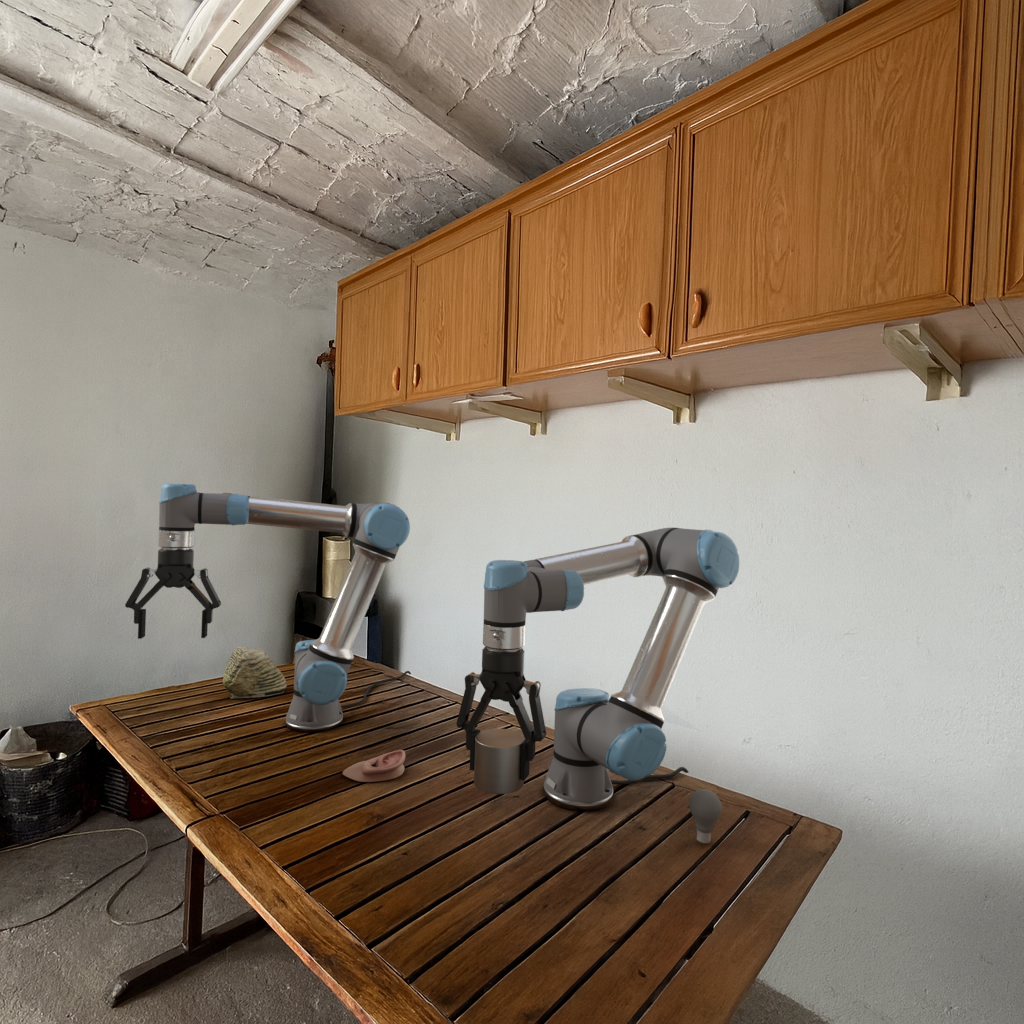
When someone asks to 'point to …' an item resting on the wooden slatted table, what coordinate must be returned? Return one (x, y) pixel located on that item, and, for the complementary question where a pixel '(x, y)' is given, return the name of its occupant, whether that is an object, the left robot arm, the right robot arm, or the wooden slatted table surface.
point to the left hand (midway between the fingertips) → (173, 637)
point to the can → (498, 761)
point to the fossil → (252, 674)
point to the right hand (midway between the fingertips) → (499, 772)
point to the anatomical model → (377, 768)
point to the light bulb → (705, 812)
